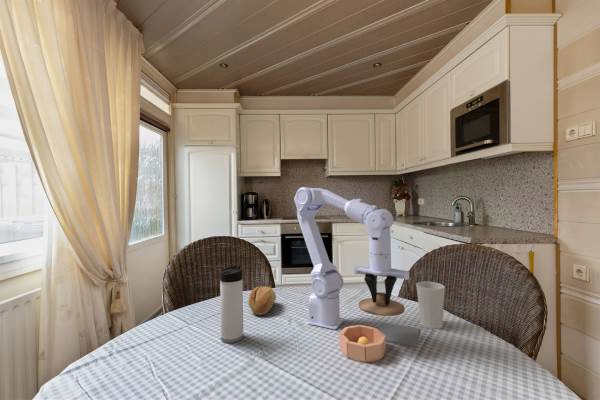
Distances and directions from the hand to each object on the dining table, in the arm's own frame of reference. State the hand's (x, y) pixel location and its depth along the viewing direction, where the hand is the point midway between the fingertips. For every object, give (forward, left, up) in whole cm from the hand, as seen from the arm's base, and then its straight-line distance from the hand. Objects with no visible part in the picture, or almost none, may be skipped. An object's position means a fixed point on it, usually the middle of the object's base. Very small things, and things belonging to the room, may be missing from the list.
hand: (381, 302), depth 75 cm
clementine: (-3, -7, -8) cm, 12 cm away
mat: (+3, +6, -10) cm, 12 cm away
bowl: (-4, -7, -10) cm, 13 cm away
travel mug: (-39, -17, -11) cm, 43 cm away
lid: (0, 0, -1) cm, 1 cm away
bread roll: (-44, +4, -11) cm, 45 cm away
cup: (+11, +17, -11) cm, 23 cm away
